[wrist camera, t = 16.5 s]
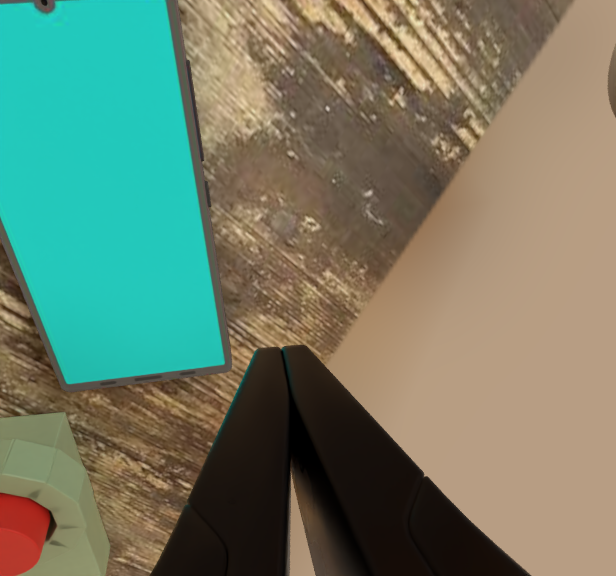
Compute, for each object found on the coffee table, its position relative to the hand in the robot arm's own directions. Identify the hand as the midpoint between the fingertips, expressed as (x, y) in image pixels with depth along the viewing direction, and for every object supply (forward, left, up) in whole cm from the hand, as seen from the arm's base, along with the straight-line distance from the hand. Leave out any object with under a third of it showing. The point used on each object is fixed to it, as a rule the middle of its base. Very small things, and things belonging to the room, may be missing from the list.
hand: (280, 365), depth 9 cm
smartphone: (+5, +3, -12) cm, 13 cm away
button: (+11, +15, -8) cm, 20 cm away
